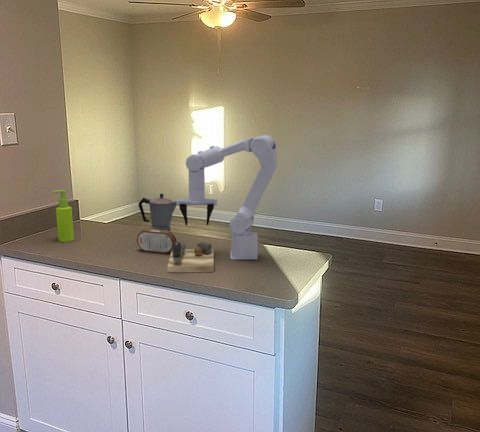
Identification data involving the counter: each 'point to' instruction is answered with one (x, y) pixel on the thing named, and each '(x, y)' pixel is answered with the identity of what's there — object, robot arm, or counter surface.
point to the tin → (156, 240)
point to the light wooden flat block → (194, 260)
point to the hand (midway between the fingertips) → (197, 224)
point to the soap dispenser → (64, 219)
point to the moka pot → (159, 212)
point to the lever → (178, 250)
